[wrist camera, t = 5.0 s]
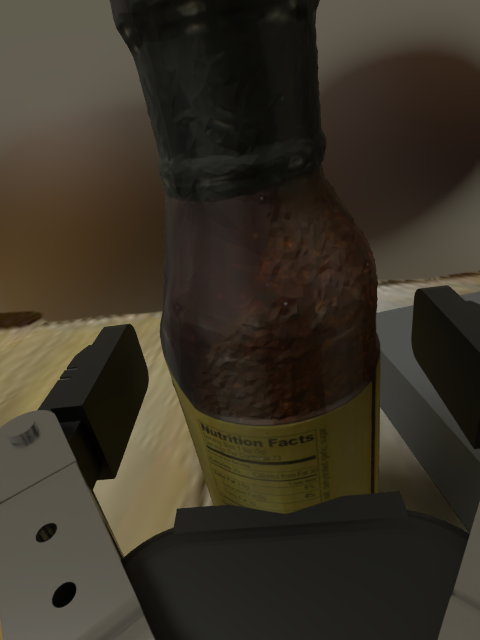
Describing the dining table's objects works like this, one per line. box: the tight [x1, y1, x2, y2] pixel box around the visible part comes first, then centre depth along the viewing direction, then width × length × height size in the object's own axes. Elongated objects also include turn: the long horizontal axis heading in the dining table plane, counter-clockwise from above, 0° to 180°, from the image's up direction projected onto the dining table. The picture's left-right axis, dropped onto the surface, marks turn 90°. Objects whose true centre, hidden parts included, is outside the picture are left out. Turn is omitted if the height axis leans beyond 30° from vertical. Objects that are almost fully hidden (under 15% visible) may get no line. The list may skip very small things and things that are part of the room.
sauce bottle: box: [110, 0, 381, 514], centre depth 12 cm, size 7×6×20 cm
